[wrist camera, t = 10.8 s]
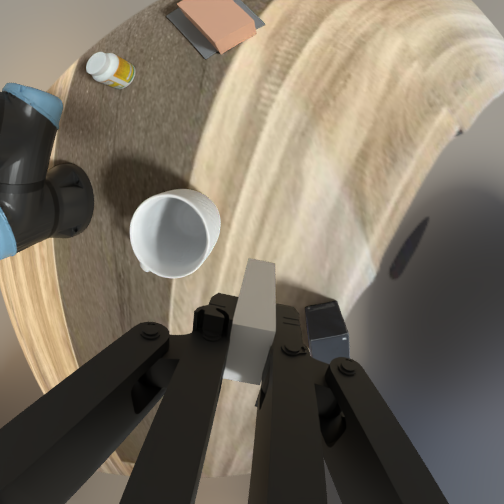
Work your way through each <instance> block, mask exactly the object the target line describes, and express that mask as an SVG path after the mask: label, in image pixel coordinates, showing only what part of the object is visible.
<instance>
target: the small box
mask: <svg viewBox="0 0 504 504" xmlns="http://www.w3.org/2000/svg"><path fill="white" fill-rule="evenodd" d="M305 313H306V324H307V332H308V340H309V349H310V355H311V357H313V358H314V359H316V360H319V361H322V362H324V363H327V364H330V362H331V361H332V360H333V359H334V358H338V357H346V358H349V359H350V351H349V333H348V330H347V328H346V325H345V322H344V319H343V317H342V314H341V311H340V308H339V305H338V302H337V301H333V302H328V303H324V304H319V305H312V306H309V307H305Z"/></svg>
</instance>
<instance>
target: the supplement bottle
mask: <svg viewBox="0 0 504 504" xmlns="http://www.w3.org/2000/svg"><path fill="white" fill-rule="evenodd" d="M86 70H87V72H88V73H89V74H91V75H92V77H93V78H94V80H96V81H98V82H100V83H103V84H106V85H108V86H111V87H113V88H116V89H122V88H125V87H127V86H128V85H129V84H130V83H131V82H132V81H133V79H134V76H135V68H134V66H133V65H132V64H130V63H128V62H127V61H125V60H124V59H122V58H120V57H118V56H117V55H115V54H112V53H107V54H105V53H103V52H98V53H95V54H94V55H93V56H92V57H91V58H90V59H89V60H88V62H87V66H86Z"/></svg>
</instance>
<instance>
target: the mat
mask: <svg viewBox="0 0 504 504" xmlns="http://www.w3.org/2000/svg"><path fill="white" fill-rule="evenodd" d="M233 1H234V2H235V3H236V4H237V5H238V6H240V7H241V8H242V9H243V10H244V11H245V12H246V13H247V14H248V15H249V16H250V17H251V18H252V19H253V20H254V22H255V28H256V29H258V28H260V27H262V26H264V25H265V23H264V22H263V21H262V20H261V19H260V18H259V17H258V16H257V15H256V14H255V13H254V12H252V11H251V10H250V9H249V8H248V7H247V6H246V5H245V4H244V3H243V2H242V1H241V0H233ZM167 17H168V18H169V19H170V21H171V22H172V23H173V24H174V25H175V26H176V27H177V28H178V29H179V30H180V31H181V32H182V33H183V34H184V35H185V37H186V38H187V39H188V40H189V41H190V42H191V43H192V44H193V45H194V47H195V48H196V49H197V50H198V51H199V52H200V53H201V55H202V56H203V57H204V58H205V59H207V58H209V57H210V56H212V55H213V54H215V53H216V52H218V50H217V49H216V48H215V47H214V46H213V45H212V44H211V43H210V42H209V40H208V39H207V38H206V37H205V36H204V35H203V34H202V33H201V32H200V31H199V30H198V29H197V28H196V27H195V26H194V25H193V24H192V23H191V21H190V20H189V19H188V18H187V17H186V16H185V15H184V14H183V12H182V11H181V9H180V8H177V9H176V10H174V11H173V12H171V13H170V14H168V15H167Z"/></svg>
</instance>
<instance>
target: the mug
mask: <svg viewBox="0 0 504 504" xmlns="http://www.w3.org/2000/svg"><path fill="white" fill-rule="evenodd" d="M220 223H221V222H220V215H219V212H218V209H217V207H216V206H215V204H214V203H213V201H211V199H209V198H208V197H207V196H206V195H204V194H202V193H200V192H198V191H195V190H190V189H177V190H176V189H175V190H170V191H166V192H163V193H161V194H157V195H154V196H152V197H150V198H148V199H146V200H145V201H144V202H142V203H141V204H140V205H139V207H138V208H137V209H136V211H135V213H134V215H133V217H132V220H131V224H130V240H131V245H132V248H133V251H134V253H135V255H136V257H137V258H138V260H139V261H140V266H141V268H142V269H143V270H144V271H145V272H149V271H151V272H153V273H154V274H156V275H159V276H162V277H166V278H180V277H184V276H187V275H189V274H191V273H193V272H194V271H195V270H197V269H198V268H199V267H200V266H201V265H202V263H203V262H204V261H205V259H206V258H207V257H208V255H209V254H210V252H211V251H212V250H213V247H214V246H215V243H216V242H217V239H218V237H219V233H220Z"/></svg>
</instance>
